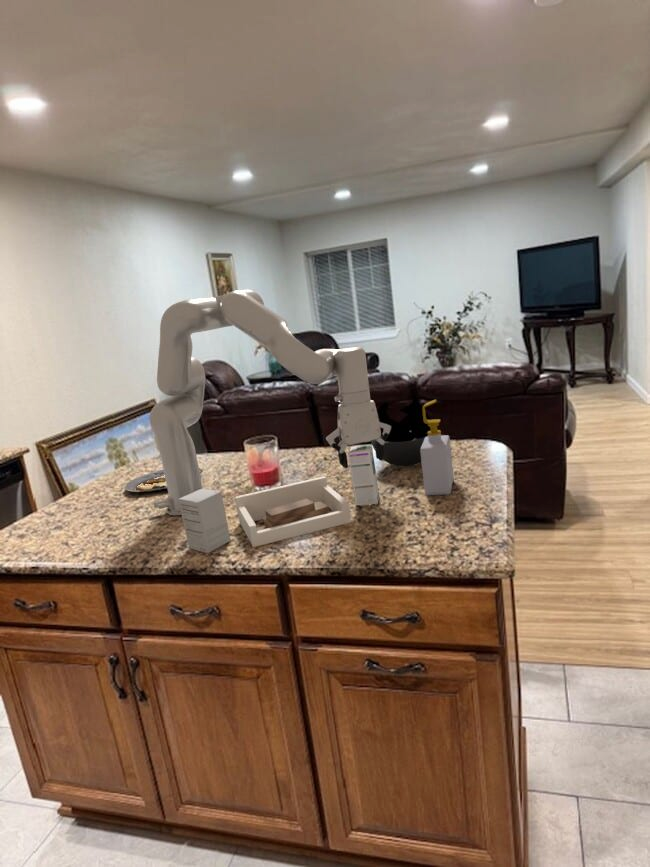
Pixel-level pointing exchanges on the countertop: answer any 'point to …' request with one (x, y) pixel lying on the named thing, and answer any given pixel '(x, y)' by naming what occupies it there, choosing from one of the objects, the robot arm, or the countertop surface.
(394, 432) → the coal bowl
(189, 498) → the supplement box
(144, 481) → the food plate
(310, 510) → the offcut pile
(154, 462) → the countertop surface
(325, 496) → the tray
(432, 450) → the soap bottle
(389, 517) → the countertop surface
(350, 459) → the syrup box
